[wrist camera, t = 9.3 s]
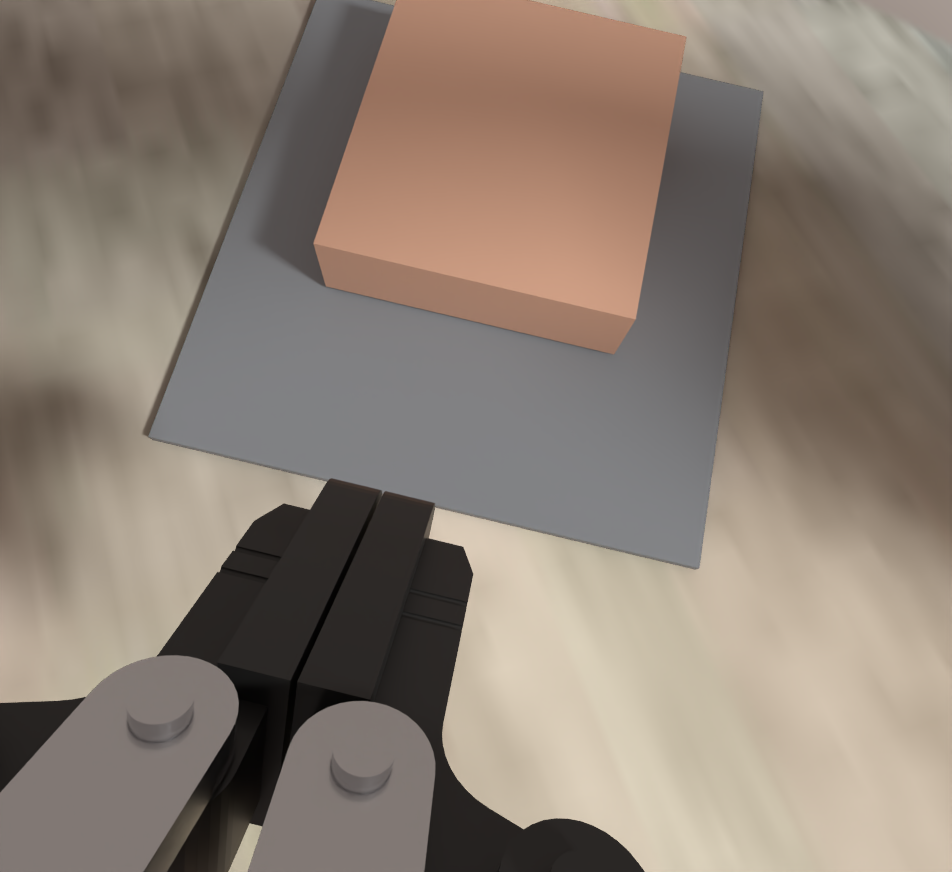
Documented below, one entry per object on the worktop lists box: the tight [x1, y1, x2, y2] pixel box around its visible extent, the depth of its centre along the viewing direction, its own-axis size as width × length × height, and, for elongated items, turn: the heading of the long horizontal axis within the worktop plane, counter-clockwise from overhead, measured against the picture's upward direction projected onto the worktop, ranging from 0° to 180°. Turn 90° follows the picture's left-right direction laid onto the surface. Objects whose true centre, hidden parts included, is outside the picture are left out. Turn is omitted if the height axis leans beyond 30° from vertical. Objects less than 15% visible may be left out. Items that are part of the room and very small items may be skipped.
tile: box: [313, 0, 686, 354], centre depth 22 cm, size 9×3×10 cm
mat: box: [148, 0, 763, 569], centre depth 23 cm, size 16×17×1 cm
